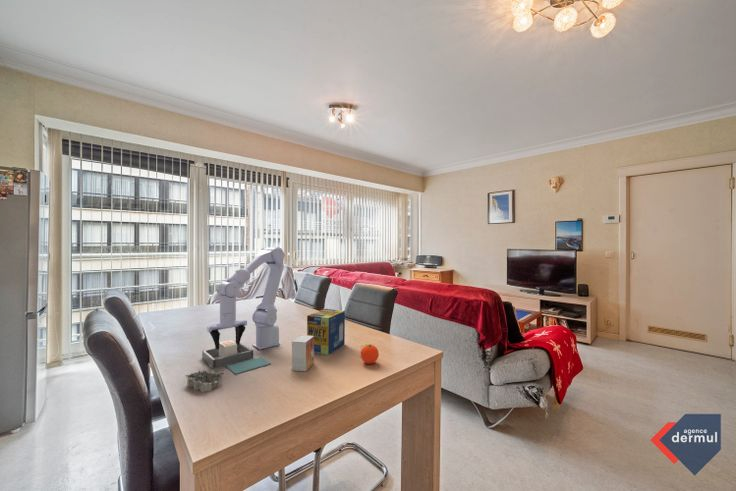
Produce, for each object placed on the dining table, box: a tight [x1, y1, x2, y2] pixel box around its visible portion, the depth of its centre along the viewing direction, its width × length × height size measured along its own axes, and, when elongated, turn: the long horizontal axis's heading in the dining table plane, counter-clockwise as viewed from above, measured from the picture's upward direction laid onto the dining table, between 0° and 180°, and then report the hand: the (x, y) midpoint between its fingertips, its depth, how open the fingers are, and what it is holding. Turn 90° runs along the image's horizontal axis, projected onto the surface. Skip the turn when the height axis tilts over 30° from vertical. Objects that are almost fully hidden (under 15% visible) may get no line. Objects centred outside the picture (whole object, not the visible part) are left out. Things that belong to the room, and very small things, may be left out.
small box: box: [291, 334, 315, 372], centre depth 109 cm, size 8×6×10 cm
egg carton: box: [185, 369, 225, 393], centre depth 94 cm, size 11×8×4 cm
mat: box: [225, 356, 271, 376], centre depth 110 cm, size 13×9×1 cm
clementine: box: [360, 343, 379, 365], centre depth 113 cm, size 8×7×7 cm
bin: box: [201, 342, 254, 370], centre depth 117 cm, size 15×14×3 cm
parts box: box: [218, 339, 238, 358], centre depth 117 cm, size 4×7×6 cm, turn 44°
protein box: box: [306, 308, 346, 357], centre depth 128 cm, size 10×15×16 cm
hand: (227, 346), depth 117 cm, fingers open, 7 cm apart
